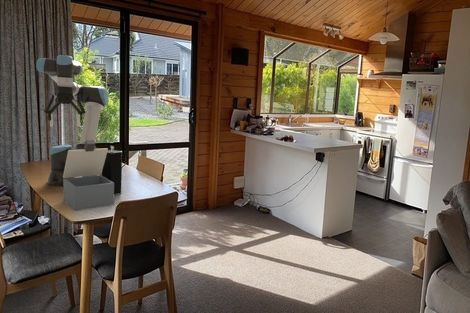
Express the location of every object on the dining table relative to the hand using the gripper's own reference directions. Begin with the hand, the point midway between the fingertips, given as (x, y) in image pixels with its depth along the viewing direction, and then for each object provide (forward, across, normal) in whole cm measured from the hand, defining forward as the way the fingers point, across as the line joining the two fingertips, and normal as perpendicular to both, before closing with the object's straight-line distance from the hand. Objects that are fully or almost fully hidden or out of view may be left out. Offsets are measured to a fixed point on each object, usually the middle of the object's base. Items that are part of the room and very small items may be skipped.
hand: (65, 126), depth 197 cm
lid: (+17, +7, -14) cm, 23 cm away
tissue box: (+39, +24, -5) cm, 46 cm away
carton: (+39, +7, -16) cm, 42 cm away
